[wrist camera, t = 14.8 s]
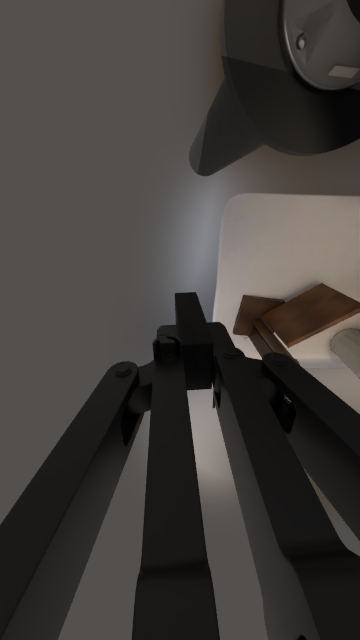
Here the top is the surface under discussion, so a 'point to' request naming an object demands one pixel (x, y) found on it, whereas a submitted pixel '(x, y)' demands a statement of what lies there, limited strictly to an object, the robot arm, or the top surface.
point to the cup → (348, 348)
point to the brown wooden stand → (259, 325)
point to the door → (310, 314)
